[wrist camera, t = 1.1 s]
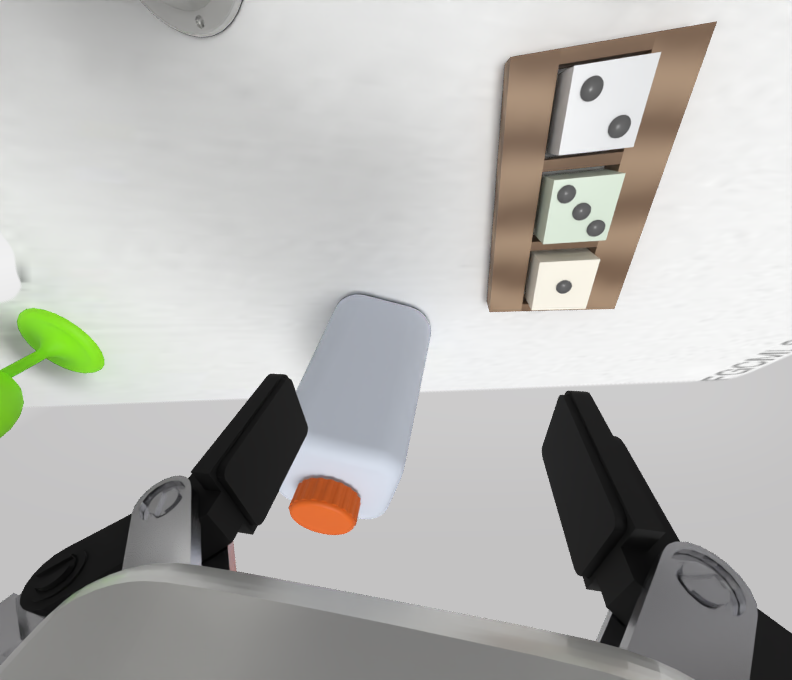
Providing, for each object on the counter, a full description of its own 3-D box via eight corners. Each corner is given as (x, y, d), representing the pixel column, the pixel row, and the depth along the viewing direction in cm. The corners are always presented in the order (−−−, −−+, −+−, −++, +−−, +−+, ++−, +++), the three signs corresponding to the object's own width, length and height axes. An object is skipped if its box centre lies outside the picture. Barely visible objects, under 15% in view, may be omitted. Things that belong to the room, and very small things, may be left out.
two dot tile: (558, 74, 26) (575, 65, 23) (633, 62, 25) (662, 51, 22) (546, 153, 30) (559, 155, 26) (612, 145, 28) (634, 147, 25)
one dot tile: (531, 250, 35) (540, 263, 32) (585, 247, 34) (601, 259, 31) (524, 295, 39) (531, 311, 35) (573, 293, 37) (586, 309, 34)
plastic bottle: (413, 381, 52) (388, 569, 30) (331, 360, 52) (244, 533, 29) (438, 310, 43) (429, 503, 21) (339, 284, 43) (222, 451, 20)
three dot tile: (542, 175, 31) (554, 180, 27) (605, 168, 30) (626, 173, 26) (533, 233, 34) (543, 244, 31) (590, 229, 33) (606, 240, 30)
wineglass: (2, 317, 58) (-147, 379, 43) (50, 299, 53) (-99, 362, 39) (73, 376, 66) (-32, 445, 51) (120, 365, 61) (19, 437, 47)
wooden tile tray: (504, 63, 27) (510, 56, 25) (690, 32, 25) (716, 21, 22) (486, 301, 41) (489, 311, 39) (603, 297, 39) (614, 308, 36)
